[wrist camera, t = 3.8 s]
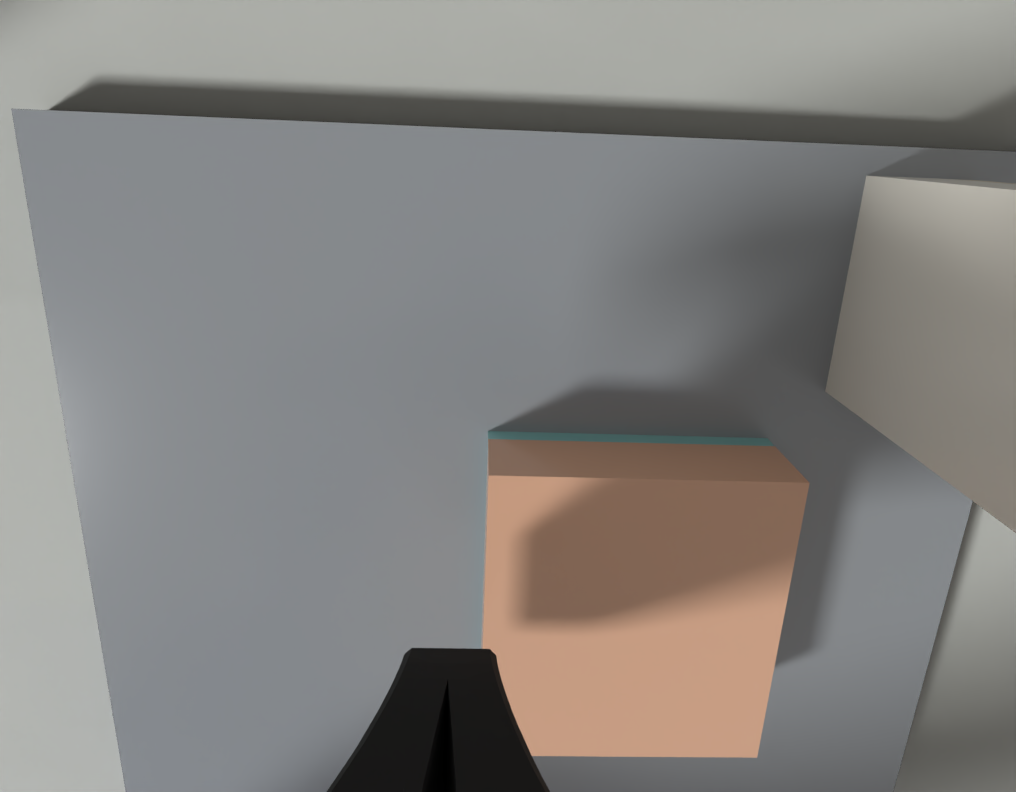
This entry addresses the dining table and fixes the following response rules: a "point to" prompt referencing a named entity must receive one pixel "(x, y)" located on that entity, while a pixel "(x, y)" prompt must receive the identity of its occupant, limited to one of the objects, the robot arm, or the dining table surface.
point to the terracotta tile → (638, 588)
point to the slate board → (451, 414)
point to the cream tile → (936, 329)
